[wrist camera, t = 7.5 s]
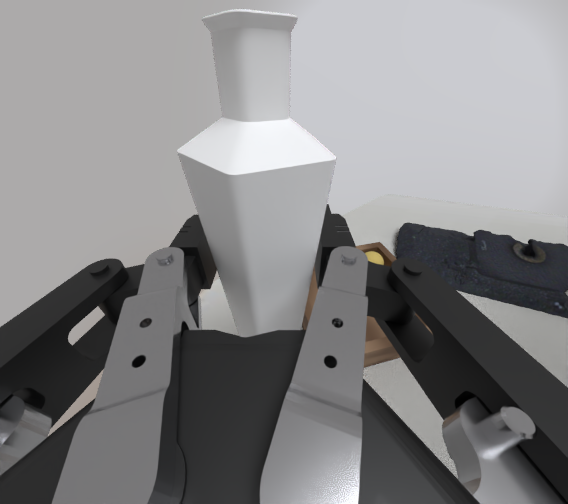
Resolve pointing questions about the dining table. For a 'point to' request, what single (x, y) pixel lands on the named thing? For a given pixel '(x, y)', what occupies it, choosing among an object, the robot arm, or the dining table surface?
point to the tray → (376, 340)
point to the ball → (374, 257)
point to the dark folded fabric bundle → (493, 265)
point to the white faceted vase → (258, 175)
